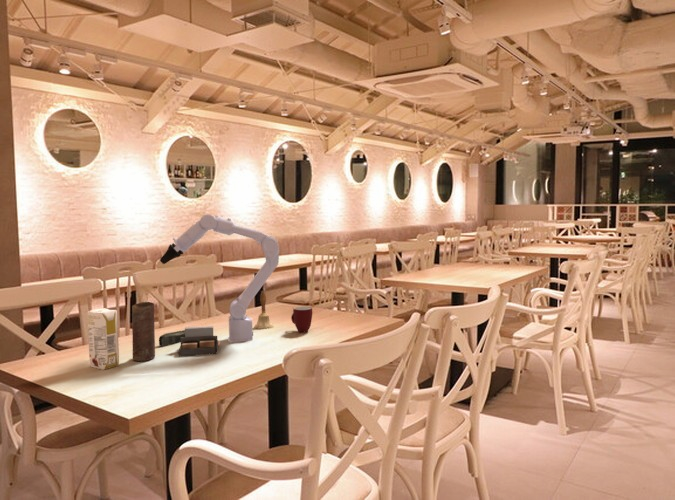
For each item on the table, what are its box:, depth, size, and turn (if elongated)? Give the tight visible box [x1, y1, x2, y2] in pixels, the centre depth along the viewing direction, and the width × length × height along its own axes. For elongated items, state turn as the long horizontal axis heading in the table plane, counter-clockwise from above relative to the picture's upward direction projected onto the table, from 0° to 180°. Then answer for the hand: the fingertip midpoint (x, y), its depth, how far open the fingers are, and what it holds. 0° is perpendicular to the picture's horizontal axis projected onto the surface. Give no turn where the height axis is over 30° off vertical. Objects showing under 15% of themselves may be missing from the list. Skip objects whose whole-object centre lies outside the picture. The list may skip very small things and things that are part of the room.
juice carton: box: [87, 307, 120, 371], centre depth 178 cm, size 8×9×19 cm
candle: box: [131, 301, 156, 363], centre depth 184 cm, size 8×7×20 cm
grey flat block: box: [184, 325, 215, 337], centre depth 197 cm, size 10×2×8 cm, turn 100°
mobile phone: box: [158, 329, 185, 349], centre depth 206 cm, size 5×3×15 cm
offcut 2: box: [200, 340, 214, 348], centre depth 192 cm, size 5×2×4 cm, turn 100°
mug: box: [290, 305, 313, 334], centre depth 226 cm, size 10×8×10 cm
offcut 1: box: [182, 343, 197, 349], centre depth 191 cm, size 5×2×4 cm, turn 100°
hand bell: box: [253, 290, 274, 330], centre depth 235 cm, size 8×8×16 cm
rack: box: [178, 335, 219, 357], centre depth 194 cm, size 13×11×6 cm
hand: (163, 261), depth 204 cm, fingers open, 7 cm apart
